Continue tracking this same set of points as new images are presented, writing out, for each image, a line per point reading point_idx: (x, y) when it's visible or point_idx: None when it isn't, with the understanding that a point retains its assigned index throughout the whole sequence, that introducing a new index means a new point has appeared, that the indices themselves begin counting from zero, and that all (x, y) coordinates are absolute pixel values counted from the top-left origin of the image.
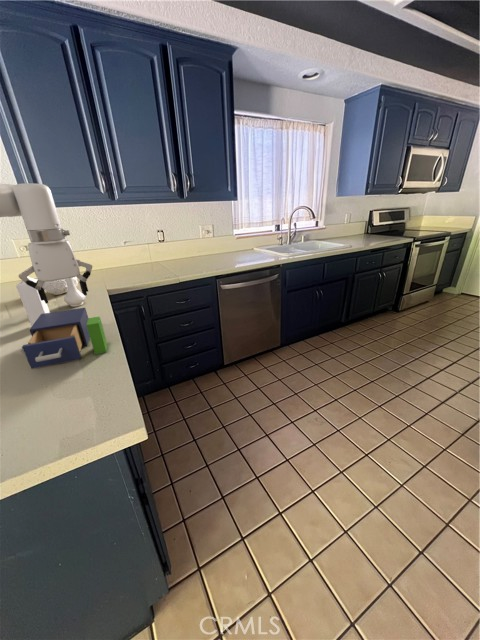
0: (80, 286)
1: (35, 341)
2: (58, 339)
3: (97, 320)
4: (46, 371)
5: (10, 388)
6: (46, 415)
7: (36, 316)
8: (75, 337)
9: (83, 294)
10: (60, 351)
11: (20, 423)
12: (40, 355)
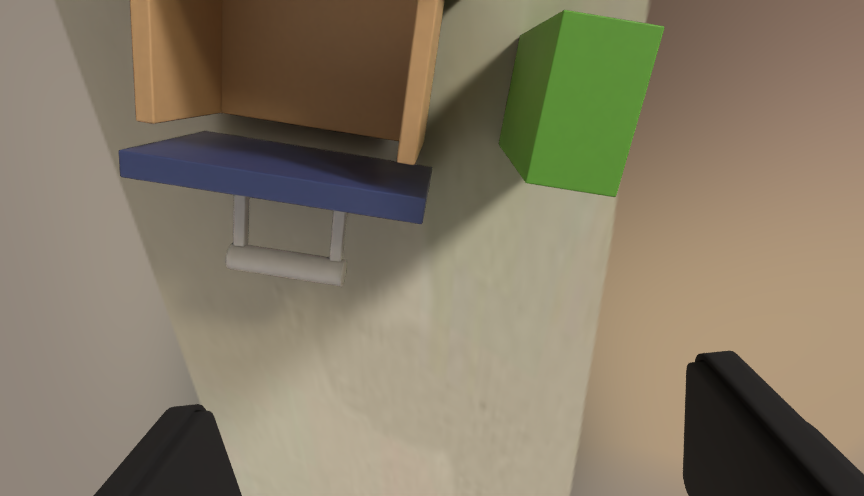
0: (758, 442)
1: (169, 39)
2: (327, 193)
3: (621, 129)
4: None
5: (161, 249)
6: (322, 469)
7: None
8: (423, 114)
9: (684, 432)
10: (342, 241)
11: (257, 465)
12: (243, 230)
